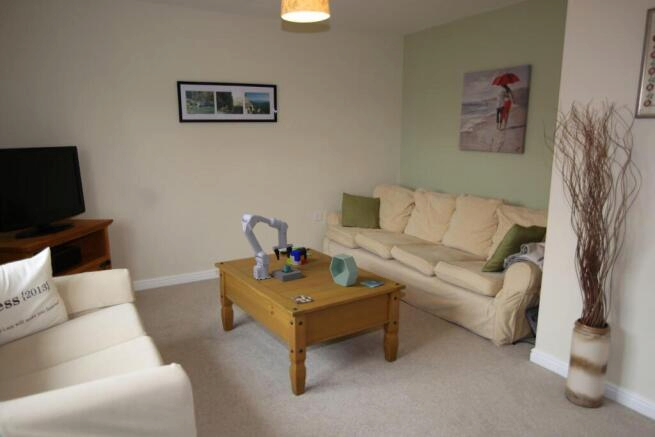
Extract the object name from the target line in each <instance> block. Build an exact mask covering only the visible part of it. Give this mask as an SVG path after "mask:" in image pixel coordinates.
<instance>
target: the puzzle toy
mask: <svg viewBox="0 0 655 437" xmlns="http://www.w3.org/2000/svg"><path fill="white" fill-rule="evenodd" d="M307 251H308V250H307V249H305V248H300V247H293V249H292V251H291V254H290V258H287V257H286V258H287V259H286V260H287V261H286V262H287V264H286V265H288V264H289V265H290V264H292V265H291V266H295V265H297V267H300V266H302V265H304V263H305V264H308V252H307ZM299 265H300V266H299Z"/></svg>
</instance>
